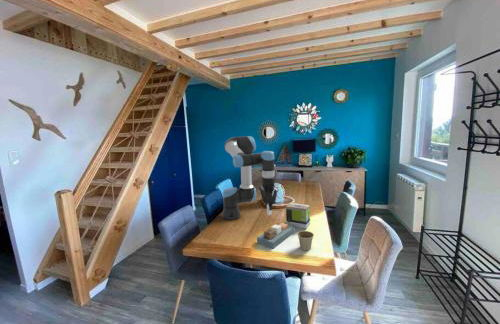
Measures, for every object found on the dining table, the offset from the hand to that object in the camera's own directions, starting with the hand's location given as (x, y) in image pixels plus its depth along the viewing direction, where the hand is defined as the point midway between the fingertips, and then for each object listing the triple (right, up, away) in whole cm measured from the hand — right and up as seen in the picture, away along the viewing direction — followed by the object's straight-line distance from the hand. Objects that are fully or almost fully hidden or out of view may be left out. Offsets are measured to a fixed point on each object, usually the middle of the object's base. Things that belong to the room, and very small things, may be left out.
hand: (269, 214), depth 145 cm
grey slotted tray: (+5, -17, +9) cm, 20 cm away
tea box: (+23, -14, +27) cm, 39 cm away
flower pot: (+21, -19, -5) cm, 29 cm away
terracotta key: (+10, -14, +14) cm, 23 cm away
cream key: (+5, -13, +8) cm, 17 cm away
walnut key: (0, -15, +2) cm, 15 cm away
